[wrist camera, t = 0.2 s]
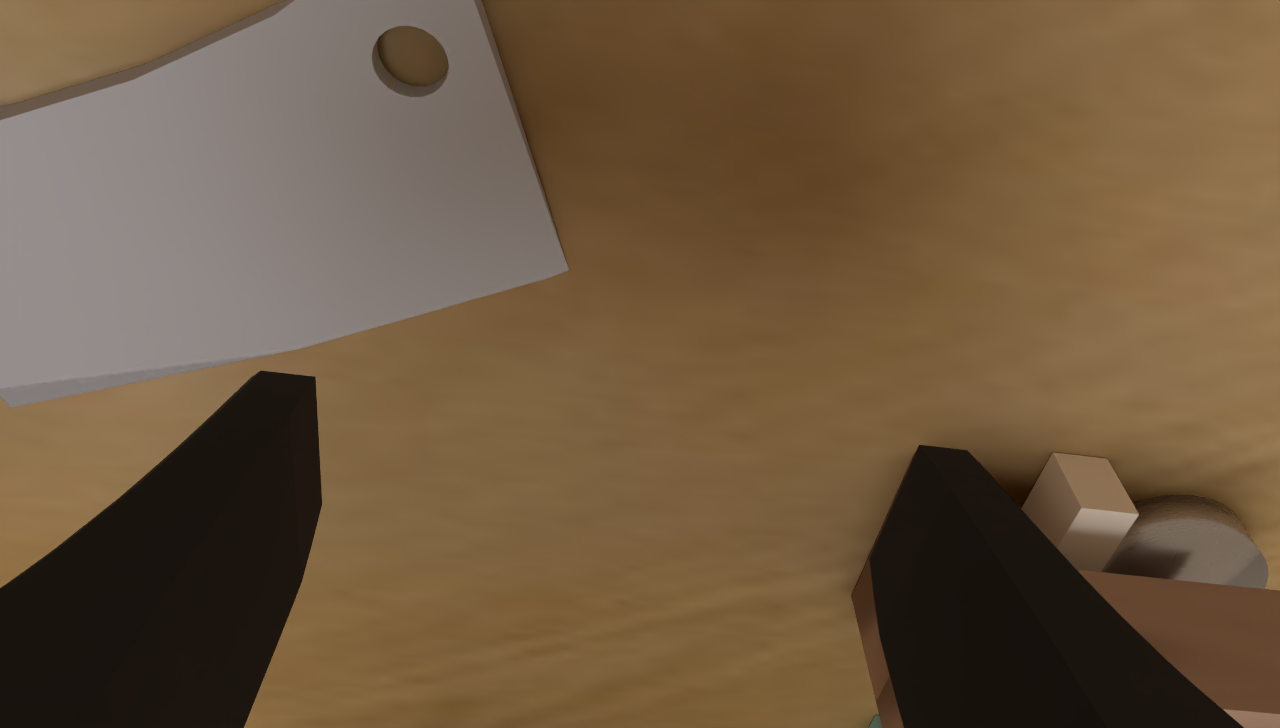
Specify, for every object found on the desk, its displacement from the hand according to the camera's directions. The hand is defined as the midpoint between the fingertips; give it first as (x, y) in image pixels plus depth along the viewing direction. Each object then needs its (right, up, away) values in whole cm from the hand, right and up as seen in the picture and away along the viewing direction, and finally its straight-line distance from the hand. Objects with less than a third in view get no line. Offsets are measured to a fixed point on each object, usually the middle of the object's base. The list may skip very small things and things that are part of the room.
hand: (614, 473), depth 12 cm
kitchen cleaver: (-13, +4, +10) cm, 17 cm away
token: (+15, -4, +16) cm, 22 cm away
